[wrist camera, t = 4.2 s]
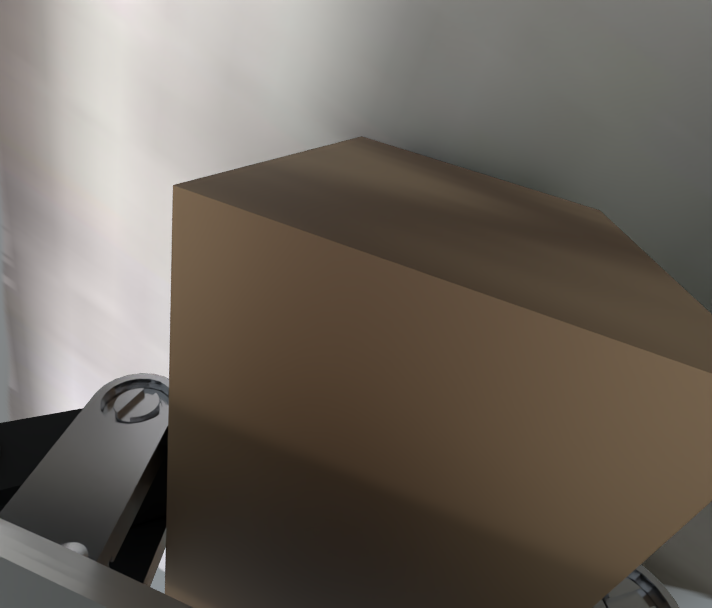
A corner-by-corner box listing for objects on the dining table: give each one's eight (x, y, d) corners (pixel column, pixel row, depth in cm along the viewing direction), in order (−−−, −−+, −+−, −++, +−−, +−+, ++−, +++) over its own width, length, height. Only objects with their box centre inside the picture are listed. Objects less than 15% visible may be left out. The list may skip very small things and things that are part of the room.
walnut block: (599, 210, 8) (813, 409, 3) (430, 510, 13) (393, 784, 8) (361, 136, 9) (173, 184, 3) (287, 449, 13) (163, 664, 8)
